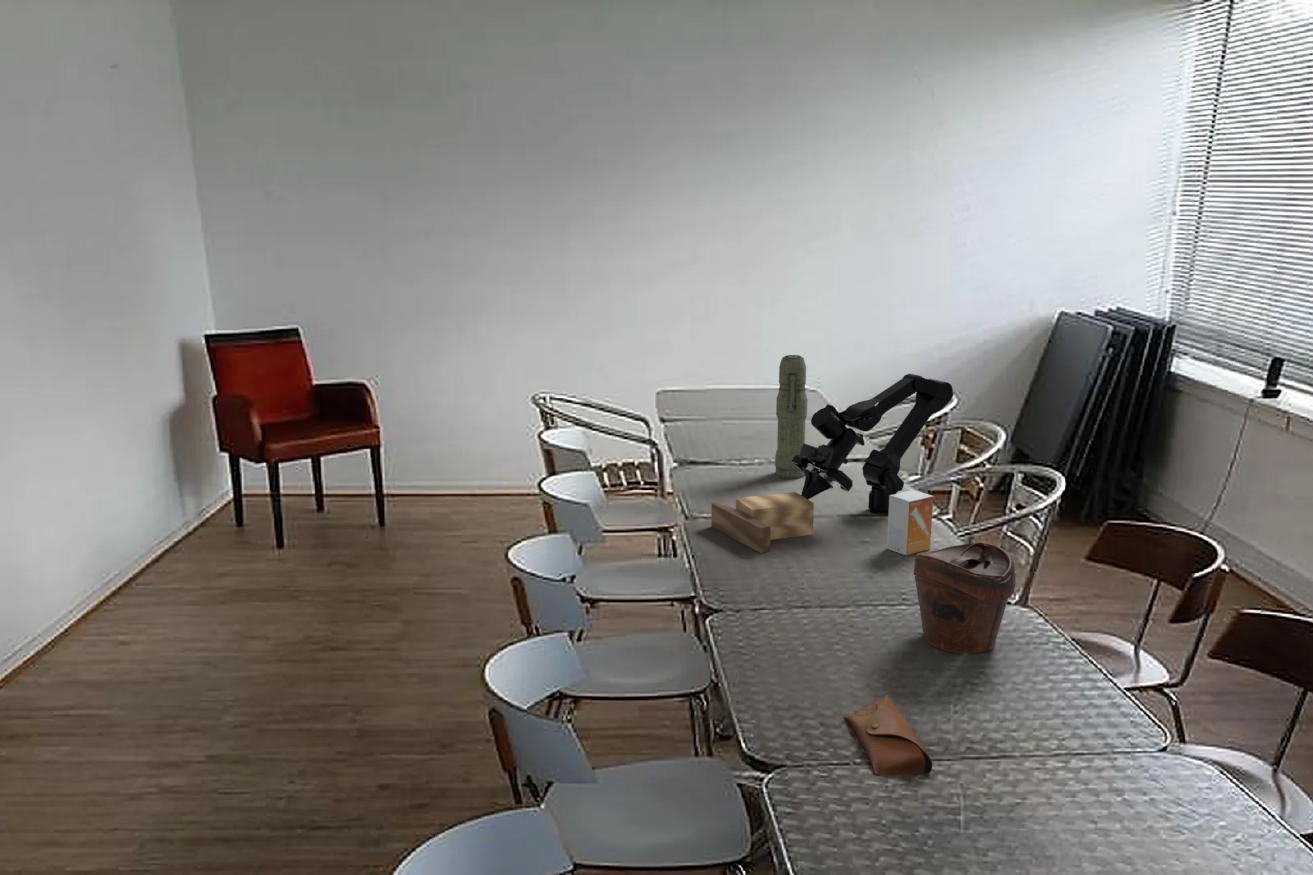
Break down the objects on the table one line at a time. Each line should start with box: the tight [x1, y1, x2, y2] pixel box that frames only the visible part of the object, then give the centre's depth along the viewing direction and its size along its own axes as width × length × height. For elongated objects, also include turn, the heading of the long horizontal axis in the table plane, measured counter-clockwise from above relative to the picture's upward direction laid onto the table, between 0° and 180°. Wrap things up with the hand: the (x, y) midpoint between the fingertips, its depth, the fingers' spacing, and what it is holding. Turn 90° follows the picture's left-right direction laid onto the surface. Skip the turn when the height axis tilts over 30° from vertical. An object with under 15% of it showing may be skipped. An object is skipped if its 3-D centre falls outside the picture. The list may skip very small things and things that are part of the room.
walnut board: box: [710, 501, 771, 554], centre depth 242 cm, size 2×22×6 cm, turn 28°
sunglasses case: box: [843, 694, 933, 777], centre depth 152 cm, size 18×7×7 cm, turn 7°
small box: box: [886, 489, 934, 557], centre depth 233 cm, size 8×6×13 cm
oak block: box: [735, 491, 815, 541], centre depth 246 cm, size 16×10×8 cm, turn 108°
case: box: [913, 542, 1017, 655], centre depth 185 cm, size 18×20×18 cm
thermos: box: [774, 354, 808, 480], centre depth 293 cm, size 9×12×35 cm
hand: (802, 500), depth 250 cm, fingers closed, pressing on oak block
